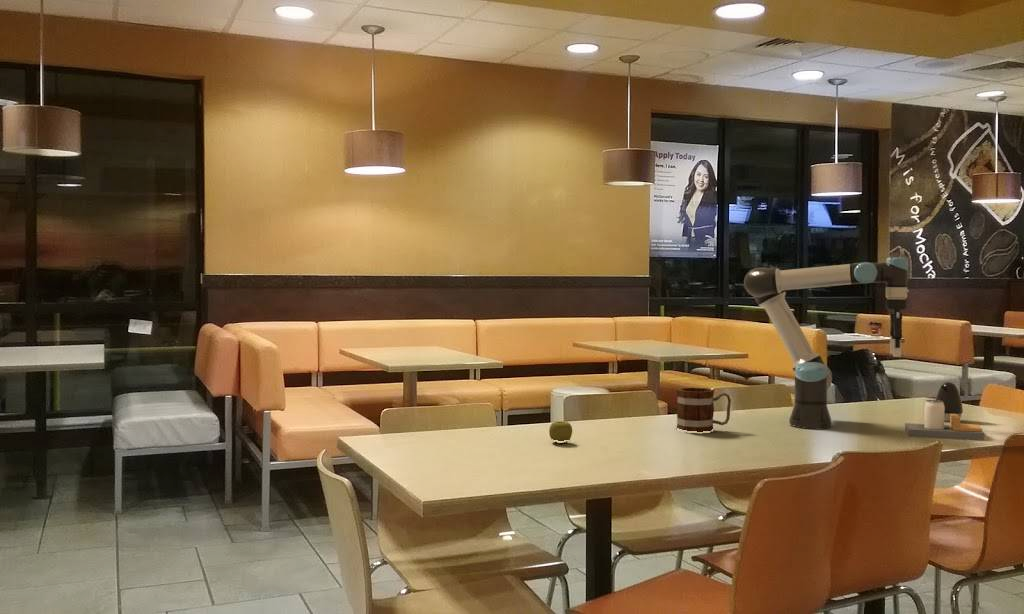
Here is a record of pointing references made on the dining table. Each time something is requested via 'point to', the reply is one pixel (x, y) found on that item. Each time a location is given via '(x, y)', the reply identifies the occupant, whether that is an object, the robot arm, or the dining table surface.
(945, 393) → the black rounded upright piece
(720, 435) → the dining table surface
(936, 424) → the can
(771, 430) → the dining table surface
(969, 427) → the orange l-shaped block
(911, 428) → the socket plate
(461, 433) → the dining table surface
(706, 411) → the mug
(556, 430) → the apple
